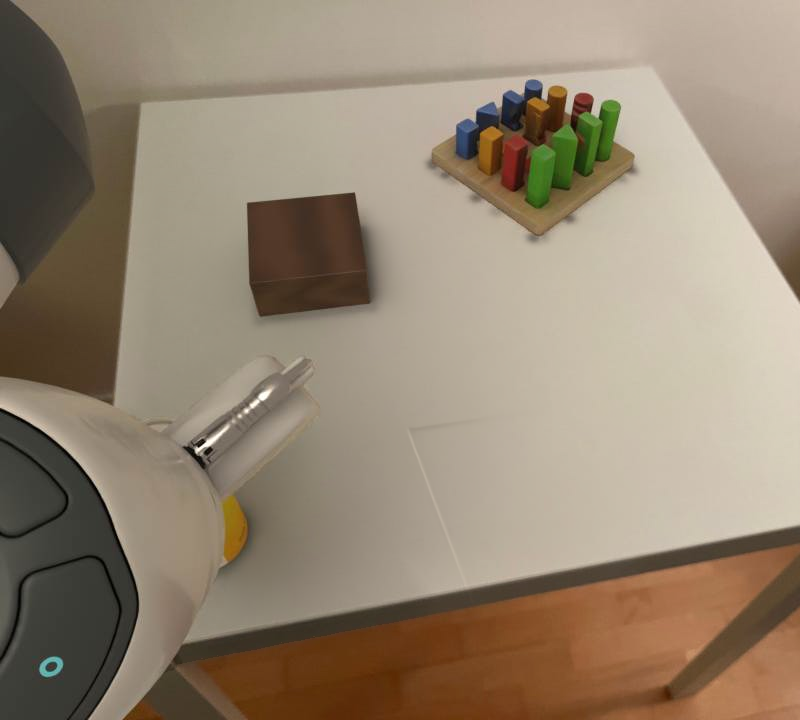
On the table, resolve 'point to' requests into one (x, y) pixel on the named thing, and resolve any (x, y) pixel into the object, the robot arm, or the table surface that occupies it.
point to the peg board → (537, 154)
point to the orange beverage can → (231, 508)
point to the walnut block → (306, 254)
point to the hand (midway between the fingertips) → (147, 525)
